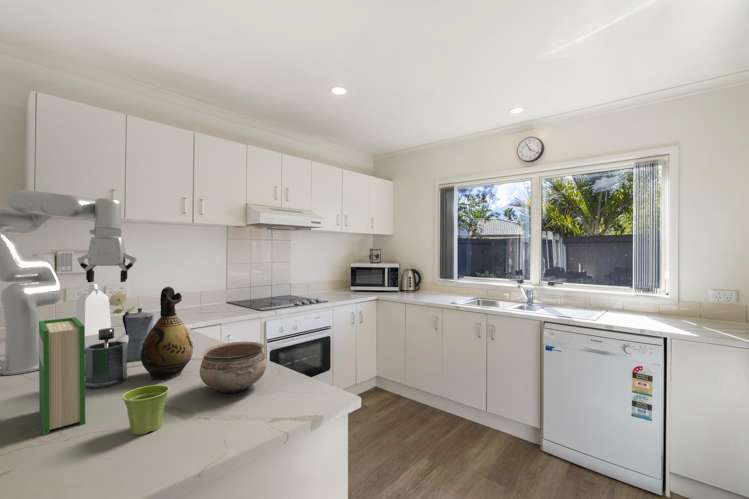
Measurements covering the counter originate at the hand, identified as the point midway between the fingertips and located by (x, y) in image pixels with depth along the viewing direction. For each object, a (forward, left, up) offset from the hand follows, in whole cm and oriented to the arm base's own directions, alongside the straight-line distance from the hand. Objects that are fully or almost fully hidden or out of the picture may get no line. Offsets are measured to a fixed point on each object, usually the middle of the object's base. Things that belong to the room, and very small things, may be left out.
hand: (107, 281), depth 124 cm
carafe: (+2, -12, -32) cm, 34 cm away
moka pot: (+5, +15, -32) cm, 36 cm away
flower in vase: (-5, +40, -32) cm, 51 cm away
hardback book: (+1, -37, -32) cm, 49 cm away
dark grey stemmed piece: (+3, -12, -29) cm, 32 cm away
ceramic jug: (+20, -11, -32) cm, 40 cm away
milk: (-30, +78, -32) cm, 89 cm away
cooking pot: (+42, -34, -32) cm, 63 cm away
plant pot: (+23, -52, -32) cm, 65 cm away
